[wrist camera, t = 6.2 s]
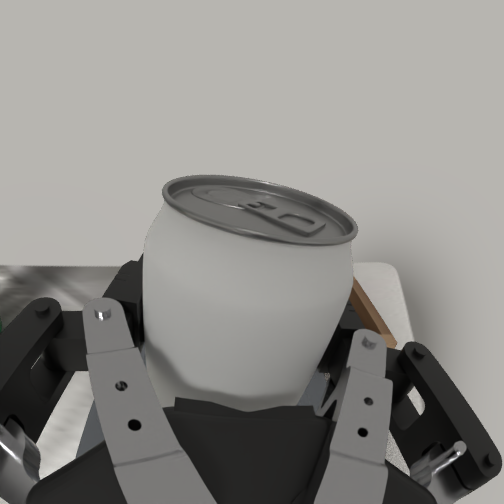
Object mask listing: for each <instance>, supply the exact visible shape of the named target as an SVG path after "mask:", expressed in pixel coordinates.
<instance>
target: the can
mask: <svg viewBox="0 0 504 504" xmlns="http://www.w3.org/2000/svg"><path fill="white" fill-rule="evenodd" d="M162 195H163V198H164V204H163V206H162V208H161V210H160V212H159V213H158V215H157V217H156V218H155V220H154V222H153V223H152V225H151V227H150V229H149V231H148V233H147V236H146V239H145V245H144V254H143V322H144V341H145V354H146V366H147V373H148V376H149V378H150V381H151V383H152V386H153V388H154V390H155V393H156V395H157V398H158V400H159V402H160V405H161V407H162V408H163V407H171V406H174V403H175V397H180V398H187V399H194V400H202V401H211V402H214V403H217V404H220V405H224V406H227V407H230V408H234V409H237V410H241V411H245V412H251V411H257V410H263V409H268V408H273V407H278V406H296V405H297V403H298V401H299V400H300V398H301V396H302V394H303V392H304V391H305V389H306V387H307V385H308V383H309V382H310V380H311V378H312V376H313V374H314V372H315V370H316V368H317V366H318V364H319V362H320V360H321V358H322V356H323V354H324V352H325V350H326V348H327V346H328V344H329V342H330V340H331V338H332V336H333V334H334V331H335V329H336V327H337V325H338V323H339V320H340V318H341V316H342V313H343V311H344V309H345V306H346V304H347V301H348V298H349V296H350V293H351V289H352V286H353V276H354V274H353V261H352V253H351V242H352V240H353V239H354V238H355V237H356V235H357V233H358V226H357V224H356V222H355V221H354V220H353V219H352V218H351V217H350V216H349V215H348V214H347V213H346V212H344V211H343V210H341V209H340V208H338V207H336V206H334V205H333V204H330V203H328V202H327V201H324V200H322V199H320V198H318V197H315V196H313V195H310V194H307V193H305V192H302V191H299V190H296V189H292V188H289V187H286V186H282V185H278V184H274V183H270V182H265V181H260V180H255V179H249V178H242V177H234V176H224V175H193V176H186V177H180V178H176V179H173V180H171V181H169V182H168V183H166V184H165V185H164V187H163V189H162Z"/></svg>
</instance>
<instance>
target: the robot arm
mask: <svg viewBox="0 0 504 504" xmlns="http://www.w3.org/2000/svg"><path fill="white" fill-rule="evenodd" d="M143 254H144V252H143ZM143 254H142V256H141V257H140V259H139V261H132V260H131V261H129V262H128V263H126V264H124V265H123V266H122V267H121V269H120V270H119V272H118V274H117V275H116V276H115V278H114V280H113V281H112V282H111V284H110V285H109V287H108V289H107V290H106V292H105V293H104V295H103V297H102V298H96V299H93V300H91V301H89V302H88V303H87V304H86V305H85V306H84V308H83V311H62V310H61V306H60V304H59V302H58V301H57V300H55V299H53V298H48V297H44V298H38V299H36V300H34V301H32V302H31V303H29V304H28V305H27V306H26V307H25V308H24V309H23V310H22V311H21V313H20V314H19V315H18V316H17V317H16V318H15V319H14V320H13V321H12V322H11V323H10V324H9V325H8V326H7V327H6V329H5V330H4V331H3V332H2V333H1V334H0V497H1V498H2V499H4V500H5V501H6V502H8V503H9V504H453V503H454V502H456V501H457V500H459V499H461V498H463V497H464V496H466V495H468V494H469V493H471V492H473V491H474V490H476V489H477V488H479V487H481V486H482V485H484V484H485V483H487V482H488V481H489V480H491V479H492V478H494V477H495V476H497V475H498V474H499V472H500V471H501V468H502V459H501V455H500V453H499V451H498V449H497V448H496V446H495V444H494V443H493V441H492V439H491V438H490V436H489V435H488V433H487V431H486V430H485V428H484V427H483V425H482V424H481V422H480V420H479V419H478V418H477V416H476V414H475V413H474V411H473V410H472V408H471V407H470V406H469V404H468V403H467V401H466V400H465V398H464V397H463V396H462V394H461V393H460V391H459V390H458V388H457V387H456V386H455V384H454V383H453V381H452V380H451V379H450V377H449V376H448V375H447V373H446V372H445V371H444V369H443V368H442V367H441V365H440V364H439V363H438V361H437V360H436V359H435V357H434V356H433V355H432V354H431V352H430V351H429V350H428V349H427V348H426V347H425V346H423V345H422V344H419V343H417V342H408V343H406V344H405V346H404V347H403V349H402V350H397V349H393V348H389V347H387V345H386V342H385V340H384V339H383V338H382V337H381V336H380V335H379V334H377V333H376V332H374V331H371V330H368V329H366V328H365V326H364V325H363V323H362V321H361V319H360V318H359V316H358V314H357V312H355V309H354V307H353V306H352V304H351V302H350V300H349V298H348V301H347V304H346V306H345V309H344V311H343V313H342V316H341V318H340V320H339V323H338V325H337V327H336V329H335V331H334V334H333V336H332V338H331V340H330V342H329V344H328V346H327V348H326V350H325V352H324V354H323V356H322V358H321V360H320V362H319V364H318V366H317V368H318V372H319V373H330V378H329V379H328V381H327V383H326V387H325V390H324V393H323V396H322V398H321V401H320V404H319V407H318V410H317V413H316V415H315V411H314V407H313V405H309V406H278V407H273V408H268V409H263V410H257V411H251V412H245V411H241V410H237V409H234V408H230V407H227V406H224V405H220V404H217V403H214V402H211V401H202V400H194V399H187V398H180V397H175V403H174V406H171V407H163V408H162V407H161V405H160V402H159V400H158V398H157V395H156V393H155V390H154V388H153V386H152V383H151V381H150V378H149V376H148V373H147V370H146V368H145V365H144V362H143V360H142V357H141V351H142V348H143V345H144V342H145V341H144V322H143ZM39 357H40V358H39ZM38 358H39V359H38ZM37 359H38V360H37ZM36 361H37V362H36ZM35 362H36V363H35ZM34 363H35V365H34ZM33 365H34V366H33ZM32 366H33V367H32ZM31 368H32V369H31ZM75 371H89V376H90V381H91V386H92V391H93V395H94V400H95V404H96V408H97V412H98V416H99V420H100V424H101V427H102V431H103V434H104V437H105V439H104V440H103V441H102V442H100V443H99V444H97V445H96V446H94V447H93V448H91V449H90V450H88V451H87V452H85V453H84V454H82V455H81V456H79V457H77V458H76V459H74V460H73V461H71V462H70V463H68V464H66V465H65V466H63V467H62V468H60V469H58V470H57V471H55V472H53V473H52V474H50V475H48V476H47V477H45V478H43V479H42V480H40V478H39V469H40V461H41V457H40V452H39V449H38V447H37V446H36V443H37V441H38V439H39V437H40V435H41V433H42V431H43V429H44V427H45V425H46V423H47V421H48V419H49V417H50V415H51V413H52V412H53V410H54V408H55V406H56V404H57V402H58V401H59V399H60V397H61V395H62V394H63V392H64V390H65V388H66V387H67V385H68V383H69V381H70V380H71V378H72V376H73V375H74V373H75ZM414 386H415V388H416V389H417V391H418V392H419V394H420V395H421V397H422V399H423V400H424V402H425V410H424V412H423V413H422V414H421V415H419V414H418V412H417V410H416V408H415V407H414V405H413V403H412V402H411V400H410V399H409V397H408V395H407V394H408V393H409V392H410V391H411V390H412V388H413V387H414ZM389 430H390V432H391V434H392V436H393V438H394V440H395V442H396V444H397V446H398V448H399V450H400V452H401V454H402V456H403V458H404V460H405V462H406V464H407V466H408V468H409V470H410V477H409V476H408V475H406V474H405V473H404V472H402V471H401V470H399V469H398V468H397V467H395V466H394V465H393V464H391V463H390V462H388V461H387V460H386V459H385V454H386V447H387V440H388V433H389Z"/></svg>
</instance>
